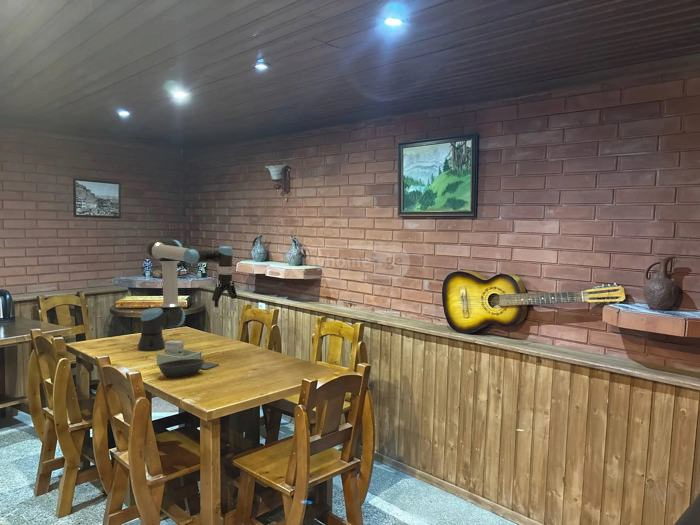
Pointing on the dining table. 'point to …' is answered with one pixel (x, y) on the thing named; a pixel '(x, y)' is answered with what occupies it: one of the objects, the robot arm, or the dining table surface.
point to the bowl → (181, 368)
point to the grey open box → (187, 355)
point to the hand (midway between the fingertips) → (224, 311)
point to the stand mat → (208, 365)
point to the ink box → (174, 348)
